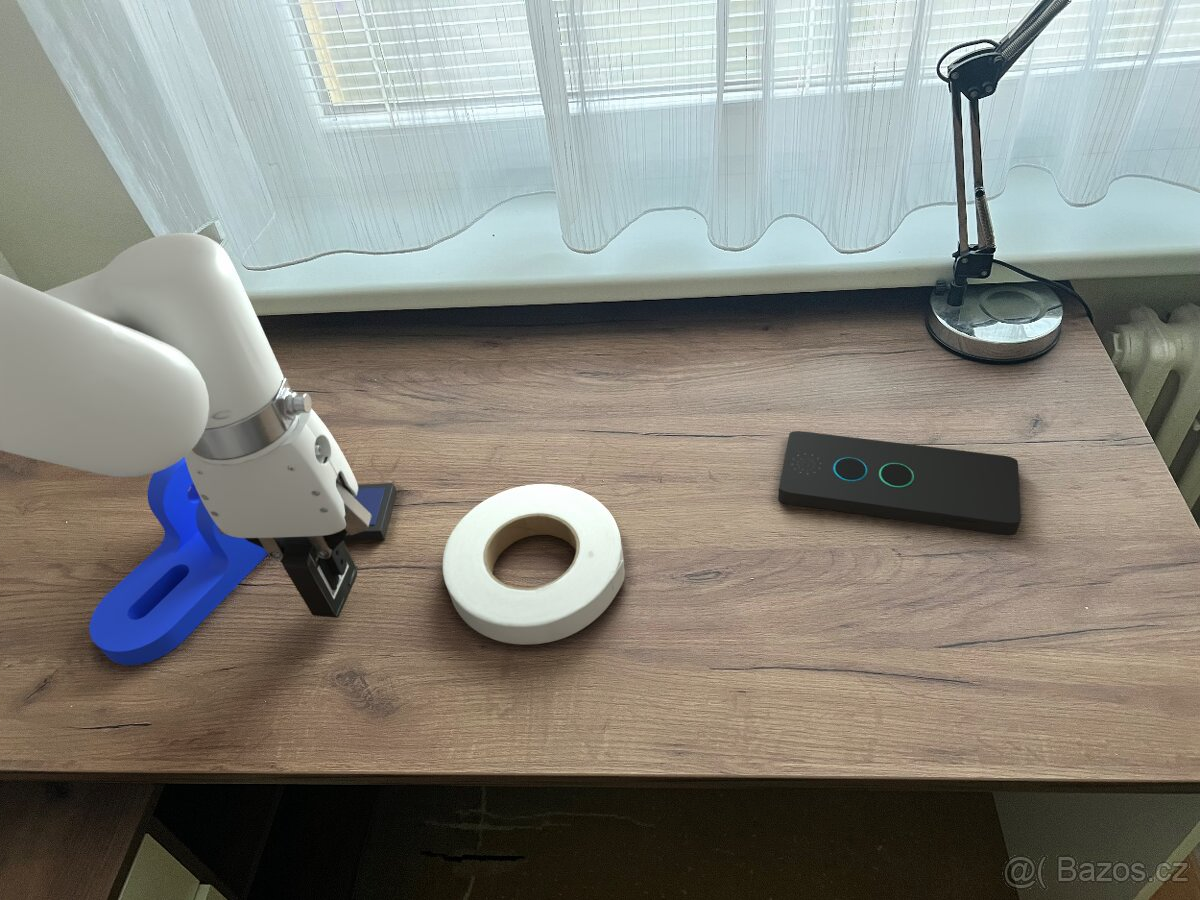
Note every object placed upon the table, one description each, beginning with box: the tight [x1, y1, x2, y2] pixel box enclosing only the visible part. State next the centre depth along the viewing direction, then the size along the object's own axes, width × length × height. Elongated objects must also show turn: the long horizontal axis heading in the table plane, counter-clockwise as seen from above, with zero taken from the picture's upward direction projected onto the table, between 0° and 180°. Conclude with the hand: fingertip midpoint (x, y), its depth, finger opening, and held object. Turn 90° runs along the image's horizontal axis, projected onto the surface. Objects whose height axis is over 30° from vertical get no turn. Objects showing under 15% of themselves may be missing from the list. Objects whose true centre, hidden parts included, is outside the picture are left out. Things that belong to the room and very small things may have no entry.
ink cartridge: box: [280, 536, 359, 619], centre depth 71 cm, size 5×2×8 cm, turn 170°
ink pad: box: [343, 482, 398, 543], centre depth 82 cm, size 9×6×2 cm, turn 88°
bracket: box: [89, 457, 269, 666], centre depth 76 cm, size 18×8×9 cm, turn 151°
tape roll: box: [442, 483, 626, 645], centre depth 75 cm, size 16×15×3 cm
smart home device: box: [777, 430, 1022, 536], centre depth 78 cm, size 8×2×20 cm
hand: (322, 575), depth 72 cm, fingers closed on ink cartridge
